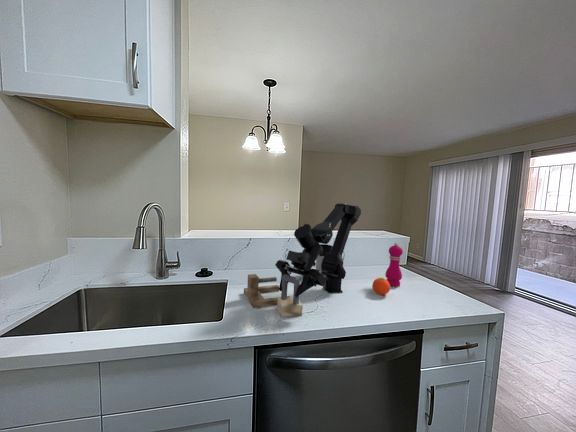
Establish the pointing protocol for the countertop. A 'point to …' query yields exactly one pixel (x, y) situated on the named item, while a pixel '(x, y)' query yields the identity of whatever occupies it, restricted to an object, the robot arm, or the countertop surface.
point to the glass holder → (320, 257)
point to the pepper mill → (394, 266)
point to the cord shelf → (260, 291)
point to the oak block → (289, 307)
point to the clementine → (381, 286)
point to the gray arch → (285, 283)
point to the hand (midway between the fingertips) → (287, 293)
